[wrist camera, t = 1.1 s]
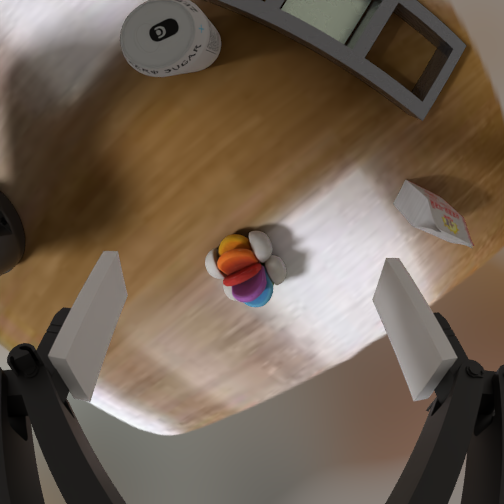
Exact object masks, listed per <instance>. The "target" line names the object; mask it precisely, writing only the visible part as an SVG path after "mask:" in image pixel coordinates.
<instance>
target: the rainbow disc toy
mask: <svg viewBox="0 0 504 504" xmlns="http://www.w3.org/2000/svg"><path fill="white" fill-rule="evenodd" d="M271 253H272V244H271V241H270V239H269V237H268V236H267V235H266V234H265V233H263V232H261V231H251V232H249V239H248V238H246V237H244V236H242V235H238V234H232V235H228V236H227V237H225V238H224V239H223V240H222V242H221V243H220V246H219V250H218V249H216V248H214V249H212V250H211V251H210V252H209V253H208V254H207V257H206V260H205V265H206V269H207V271H208V272H209V274H210V275H211V276H213V277H215V278H218V279H224V280H223V288H224V292H225V294H226V295H227V296H228V297H229V298H230V299H232V300H234V301H240V302H243V303H245V304H246V305H248V306H251V307H261V306H264V305H265V304H266V303H267V302H268V301H269V300H270V298H271V296H272V293H273V285H274V283H275V284H276V285H279V284H281V283H282V282H283V281H284V279H285V277H286V274H287V270H286V266H285V264H284V262H283V260H282V259H281V258H279V257H278V256H275V255H271ZM259 261H260V262H259Z"/></svg>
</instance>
